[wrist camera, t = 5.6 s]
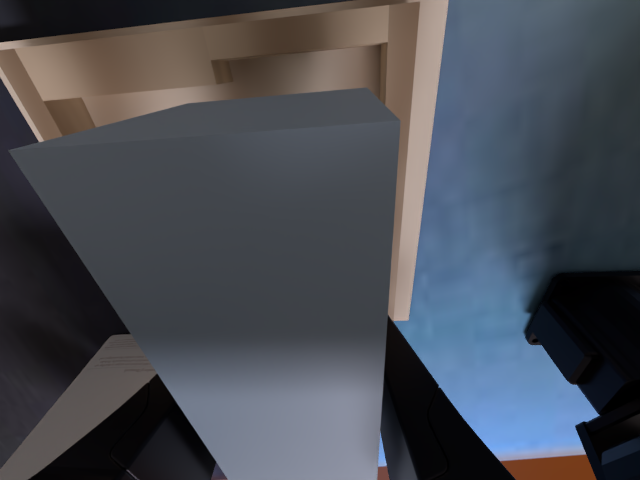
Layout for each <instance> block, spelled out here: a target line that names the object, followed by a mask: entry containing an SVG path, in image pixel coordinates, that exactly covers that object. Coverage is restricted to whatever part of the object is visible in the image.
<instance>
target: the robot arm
mask: <svg viewBox="0 0 640 480" xmlns="http://www.w3.org/2000/svg"><path fill="white" fill-rule="evenodd" d="M525 338H526V340H527V341H528V343H529V344H531V345H542V346H543V348H544V349H545V350H546V352H547V353H548V355H549V356H550V357H551V359H552V360H553V362H554V363H555V364H556V366H557V367H558V369H559V370H560V372H561V373H562V374H563V376H564V377H565V379H566V380H567V381H568V382H569V383H570V384H573V385H577V386H578V387H579V388H580V390H581V391H582V392H583V394H584V395H585V397H586V398H587V399H588V401H589V402H590V403H591V405H592V406H593V407H594V409H595V410H596V412H597V413H598V414H599V415H600V416H598V417H596V418H594V419H592V420H590V421H588V422H581V423H580V424H578V425H576V426H575V427H576V430H577V432H578V435H579V437H580V440H581V442H582V445H583V447H584V450H585V452H586V455H587V457H588V459H589V462H590V464H591V467H592V469H593V472H594V474H595V476H596V479H597V480H640V271H626V272H583V273H560V274H558V275H556V276H555V277H553V279H552V281H551V283H550V285H549V287H548V289H547V291H546V293H545V296H544V298H543V300H542V302H541V304H540V306H539V308H538V310H537V313H536V315H535V317H534V319H533V321H532V323H531V325H530V327H529V330H528V332H527V334H526V336H525ZM438 387H439V385H438V384H437V382H436V381H435V380H434V378H433V377H432V375H431V374H430V373H429V371H428V370H427V368H426V367H425V366H424V364H423V363H422V361H421V360H420V359H419V357H418V356H417V354H416V353H415V352H414V350H413V349H412V347H411V346H410V345H409V343H408V342H407V340H406V339H405V338H404V336H403V335H402V333H401V332H400V331H399V329H398V328H397V326H396V325H395V324H394V322H393V321H392V319H391V318H390V317H389V315H388V320H387V335H386V350H385V365H384V381H383V396H382V411H381V426H380V431H381V437H382V442H383V447H384V453H385V458H386V463H387V468H388V474H389V479H390V480H516V479H515V478H514V477H513V476H512V475H511V474H510V473H509V472H508V470H506V468H505V467H504V466H503V465H502V463H501V462H500V461H499V460H498V459H497V458H496V456H495V455H494V454H493V453H492V452H491V451H490V450H489V448H488V447H487V446H486V445H485V444H484V443H483V441H482V440H481V439H480V438H479V437H478V436H477V434H476V433H475V432H474V431H473V430H472V428H471V427H470V426H469V425H468V424H467V422H466V421H465V420H464V419H463V418H462V416H461V415H460V414H459V412H458V411H457V410H456V408H455V407H454V406H453V404H452V403H451V402H450V400H449V399H448V398H447V396H446V395H445V393H444V392H443V391H442V389H441V388H438ZM215 464H216V461H215V459H214V458H213V456H212V455H211V453H210V452H209V450H208V449H207V447H206V446H205V444H204V443H203V441H202V440H201V438H200V437H199V435H198V434H197V432H196V431H195V429H194V428H193V426H192V425H191V423H190V422H189V420H188V419H187V417H186V416H185V414H184V413H183V411H182V410H181V408H180V407H179V405H178V404H177V402H176V401H175V399H174V398H173V396H172V395H171V393H170V392H169V390H168V389H167V387H166V386H165V384H164V383H163V381H162V380H161V378H160V377H159V375H158V374H156V375H155V376H154V377H153V378H152V379H151V380H150V381H149V382H147V383H146V384H145V385H144V386H143V387H142V388H141V389H139V390H138V391H137V392H136V393H135V394H134V395H133V396H132V397H130V398H129V399H128V400H127V401H126V402H125V403H124V404H122V405H121V406H120V407H119V408H118V409H117V410H115V411H114V412H113V413H112V414H111V415H109V416H108V417H107V418H106V419H105V420H103V421H102V422H101V423H100V424H98V425H97V426H96V427H95V428H93V429H92V430H91V431H90V432H88V433H87V434H86V435H85V436H83V437H82V438H81V439H80V440H78V441H77V442H76V443H75V444H73V445H72V446H71V447H70V448H68V449H67V450H66V451H65V452H63V453H62V454H61V455H60V456H58V457H57V458H56V459H55V460H53V461H52V462H51V463H50V464H48V465H47V466H46V467H45V468H43V469H42V470H41V471H39V472H38V473H36V474H35V475H34V476H32V477H31V478H29V479H28V480H211V477H212V474H213V471H214V467H215Z"/></svg>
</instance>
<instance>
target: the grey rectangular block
mask: <svg viewBox="0 0 640 480" xmlns="http://www.w3.org/2000/svg"><path fill="white" fill-rule="evenodd" d="M400 123H401V121H400V120H399V119H398V118H397V117H396V116H395V115H394V114H393V113H392V112H391V111H390V110H389V109H388V108H387V107H386V106H385V105H384V104H383V103H382V102H381V101H380V100H379V99H378V98H377V97H376V96H375V95H374V94H373V93H372V92H371V91H370V90H369V89H368V88H367V87H366V88H355V89H343V90H332V91H321V92H310V93H298V94H287V95H276V96H265V97H254V98H242V99H231V100H220V101H209V102H197V103H187V104H183V105H179V106H176V107H172V108H168V109H164V110H160V111H157V112H153V113H149V114H145V115H141V116H138V117H134V118H130V119H126V120H122V121H119V122H115V123H111V124H107V125H103V126H100V127H96V128H92V129H88V130H84V131H81V132H77V133H73V134H69V135H65V136H62V137H58V138H54V139H50V140H46V141H43V142H39V143H35V144H31V145H27V146H24V147H20V148H16V149H12V150H8V151H9V152H10V154H11V155H12V157H13V158H14V160H15V161H16V163H17V164H18V166H19V167H20V169H21V170H22V172H23V173H24V175H25V176H26V178H27V179H28V181H29V182H30V184H31V185H32V187H33V188H34V190H35V191H36V193H37V194H38V196H39V197H40V199H41V200H42V202H43V203H44V205H45V206H46V208H47V209H48V211H49V212H50V214H51V215H52V217H53V218H54V220H55V221H56V223H57V224H58V226H59V227H60V229H61V230H62V232H63V233H64V235H65V236H66V238H67V239H68V241H69V242H70V244H71V245H72V247H73V248H74V250H75V251H76V253H77V254H78V256H79V257H80V259H81V260H82V262H83V263H84V265H85V266H86V268H87V269H88V271H89V272H90V274H91V275H92V277H93V278H94V280H95V281H96V283H97V284H98V286H99V287H100V289H101V290H102V292H103V293H104V295H105V296H106V298H107V299H108V301H109V302H110V304H111V305H112V307H113V308H114V310H115V311H116V312H117V314H118V315H119V317H120V318H121V320H122V321H123V323H124V324H125V326H126V327H127V329H128V330H129V332H130V333H131V335H132V336H133V338H134V339H135V341H136V342H137V344H138V345H139V347H140V348H141V350H142V351H143V353H144V354H145V356H146V357H147V359H148V360H149V362H150V363H151V365H152V366H153V368H154V369H155V371H156V372H157V374H158V375H159V377H160V378H161V380H162V381H163V383H164V384H165V386H166V387H167V389H168V390H169V392H170V393H171V395H172V396H173V398H174V399H175V401H176V402H177V404H178V405H179V407H180V408H181V410H182V411H183V413H184V414H185V416H186V417H187V419H188V420H189V422H190V423H191V425H192V426H193V428H194V429H195V431H196V432H197V434H198V435H199V437H200V438H201V440H202V441H203V443H204V444H205V446H206V447H207V449H208V450H209V452H210V453H211V455H212V456H213V458H214V459H215V461H216V462H217V464H218V465H219V467H220V468H221V470H222V471H223V473H224V474H225V476H226V477H227V479H228V480H377V471H378V456H379V441H380V426H381V411H382V396H383V381H384V365H385V350H386V335H387V320H388V305H389V290H390V275H391V259H392V244H393V229H394V214H395V199H396V184H397V168H398V153H399V138H400Z"/></svg>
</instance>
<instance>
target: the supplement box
mask: <svg viewBox="0 0 640 480" xmlns="http://www.w3.org/2000/svg"><path fill="white" fill-rule="evenodd" d="M156 374H157V372H156V371H155V369H154V368H153V366H152V365H151V363H150V362H149V360H148V359H147V357H146V356H145V354H144V353H143V351H142V350H141V348H140V347H139V345H138V344H137V342H136V341H135V339H134V338H133V336H132V335H131V334H121V335H112V336H110V337H109V338H108V340H107V341H106V342H105V343H104V345H103V346H102V347H101V348H100V349H99V351H98V352H97V353H96V354H95V355H94V357H93V358H92V359H91V360H90V361H89V363H88V364H87V365H86V366H85V367H84V369H83V370H82V371H81V372H80V374H79V375H78V376H77V377H76V378H75V380H74V381H73V382H72V383H71V385H70V386H69V387H68V388H67V389H66V391H65V392H64V393H63V394H62V395H61V397H60V398H59V399H58V400H57V401H56V403H55V404H54V405H53V406H52V408H51V409H50V410H49V411H48V412H47V414H46V415H45V416H44V417H43V418H42V420H41V421H40V422H39V423H38V424H37V426H36V427H35V428H34V429H33V430H32V432H31V433H30V434H29V435H28V436H27V438H26V439H25V440H24V441H23V442H22V444H21V445H20V446H19V447H18V449H17V450H16V451H15V452H14V453H13V455H12V456H11V457H10V458H9V460H8V461H7V462H6V463H5V464H4V466H3V467H2V468H1V469H0V480H28V479H29V478H31V477H32V476H34V475H35V474H36V473H38V472H39V471H41V470H42V469H43V468H45V467H46V466H47V465H48V464H50V463H51V462H52V461H53V460H55V459H56V458H57V457H58V456H60V455H61V454H62V453H63V452H65V451H66V450H67V449H68V448H70V447H71V446H72V445H73V444H75V443H76V442H77V441H78V440H80V439H81V438H82V437H83V436H85V435H86V434H87V433H88V432H90V431H91V430H92V429H93V428H95V427H96V426H97V425H98V424H100V423H101V422H102V421H103V420H105V419H106V418H107V417H108V416H109V415H111V414H112V413H113V412H114V411H115V410H117V409H118V408H119V407H120V406H121V405H122V404H124V403H125V402H126V401H127V400H128V399H129V398H130V397H132V396H133V395H134V394H135V393H136V392H137V391H138V390H139V389H141V388H142V387H143V386H144V385H145V384H146V383H147V382H149V381H150V380H151V379H152V378H153V377H154V376H155V375H156Z"/></svg>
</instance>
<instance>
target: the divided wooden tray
mask: <svg viewBox="0 0 640 480" xmlns="http://www.w3.org/2000/svg"><path fill="white" fill-rule="evenodd" d="M448 1H449V0H354V1H346V2H337V3H329V4H320V5H312V6H304V7H295V8H287V9H278V10H270V11H262V12H253V13H245V14H236V15H228V16H220V17H211V18H203V19H194V20H186V21H178V22H169V23H161V24H152V25H144V26H136V27H127V28H119V29H110V30H102V31H93V32H85V33H77V34H68V35H60V36H51V37H43V38H35V39H26V40H18V41H9V42H1V43H0V77H1V79H2V81H3V82H4V84H5V86H6V87H7V89H8V91H9V92H10V94H11V96H12V97H13V99H14V101H15V102H16V104H17V106H18V107H19V109H20V111H21V112H22V114H23V116H24V117H25V119H26V121H27V122H28V124H29V126H30V127H31V129H32V131H33V132H34V134H35V136H36V137H37V139H38V141H39V142H43V141H46V140H50V139H54V138H58V137H62V136H65V135H69V134H73V133H77V132H81V131H84V130H88V129H92V128H96V127H100V126H103V125H107V124H111V123H115V122H119V121H122V120H126V119H130V118H134V117H138V116H141V115H145V114H149V113H153V112H157V111H160V110H164V109H168V108H172V107H176V106H179V105H183V104H187V103H197V102H209V101H220V100H231V99H242V98H254V97H265V96H276V95H287V94H298V93H310V92H321V91H332V90H343V89H355V88H366V87H367V88H368V89H369V90H370V91H371V92H372V93H373V94H374V95H375V96H376V97H377V98H378V99H379V100H380V101H381V102H382V103H383V104H384V105H385V106H386V107H387V108H388V109H389V110H390V111H391V112H392V113H393V114H394V115H395V116H396V117H397V118H398V119H399V120H400V121H401V123H400V138H399V153H398V168H397V184H396V199H395V214H394V229H393V244H392V259H391V275H390V290H389V305H388V315H389V317H390V318H391V319H392V321H405V320H409V312H410V304H411V296H412V288H413V280H414V272H415V264H416V256H417V248H418V240H419V232H420V224H421V216H422V208H423V200H424V193H425V185H426V177H427V169H428V161H429V153H430V145H431V137H432V129H433V121H434V113H435V105H436V97H437V89H438V81H439V73H440V65H441V57H442V49H443V41H444V33H445V25H446V17H447V9H448Z"/></svg>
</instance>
